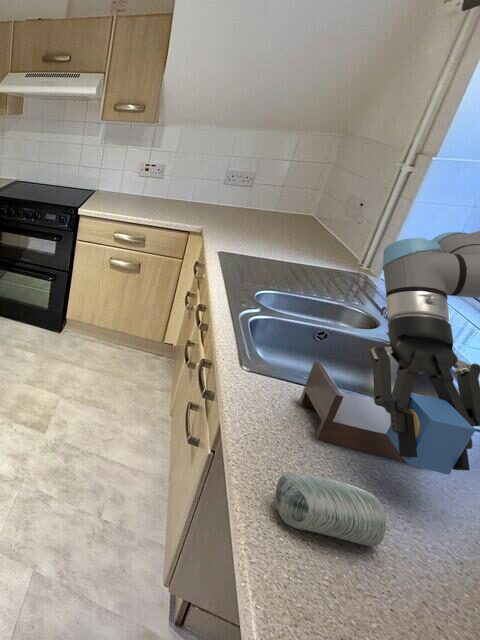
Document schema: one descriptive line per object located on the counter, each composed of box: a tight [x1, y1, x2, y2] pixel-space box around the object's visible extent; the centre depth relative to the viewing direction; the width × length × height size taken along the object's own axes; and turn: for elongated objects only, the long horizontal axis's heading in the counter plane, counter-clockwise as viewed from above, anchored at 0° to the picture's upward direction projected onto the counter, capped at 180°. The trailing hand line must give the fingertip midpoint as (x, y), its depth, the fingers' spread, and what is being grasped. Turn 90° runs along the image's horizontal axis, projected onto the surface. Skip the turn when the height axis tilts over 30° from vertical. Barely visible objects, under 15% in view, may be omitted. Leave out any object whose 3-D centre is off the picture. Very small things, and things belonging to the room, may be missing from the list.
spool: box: [275, 472, 387, 547], centre depth 64 cm, size 14×10×10 cm
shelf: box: [298, 361, 406, 463], centre depth 83 cm, size 16×12×11 cm
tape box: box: [386, 392, 476, 476], centre depth 66 cm, size 5×7×9 cm
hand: (433, 462), depth 64 cm, fingers closed on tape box, 5 cm apart
